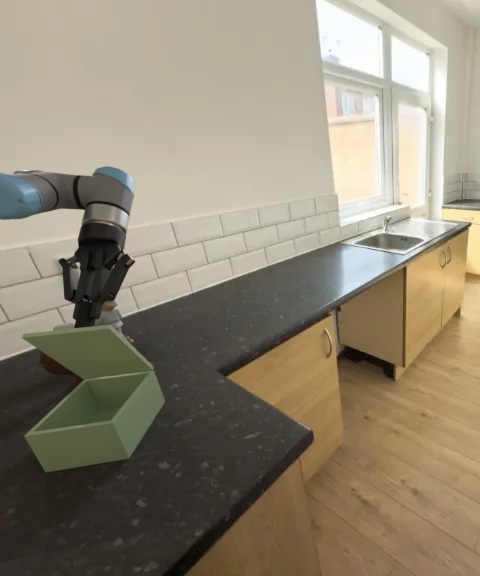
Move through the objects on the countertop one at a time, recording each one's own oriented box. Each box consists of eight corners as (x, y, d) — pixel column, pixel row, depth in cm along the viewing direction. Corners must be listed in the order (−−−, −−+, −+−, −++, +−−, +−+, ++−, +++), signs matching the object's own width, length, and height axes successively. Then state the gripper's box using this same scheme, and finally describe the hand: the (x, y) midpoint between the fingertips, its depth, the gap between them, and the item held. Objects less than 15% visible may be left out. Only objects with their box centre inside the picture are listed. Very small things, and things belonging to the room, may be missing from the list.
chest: (129, 458, 60) (113, 422, 56) (45, 472, 57) (23, 436, 54) (165, 401, 74) (154, 370, 71) (99, 410, 72) (84, 379, 68)
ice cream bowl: (117, 366, 87) (98, 318, 82) (101, 392, 78) (77, 339, 72) (69, 376, 84) (45, 326, 78) (45, 404, 74) (16, 349, 69)
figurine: (142, 344, 98) (120, 283, 91) (114, 359, 91) (88, 295, 83) (121, 340, 100) (98, 281, 93) (92, 355, 93) (64, 292, 86)
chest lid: (108, 328, 58) (110, 324, 58) (21, 337, 55) (23, 333, 56) (152, 370, 70) (154, 366, 71) (82, 379, 68) (84, 375, 68)
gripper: (147, 238, 74) (132, 336, 65) (83, 242, 71) (58, 344, 62) (127, 218, 67) (108, 326, 58) (55, 222, 65) (24, 334, 56)
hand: (82, 335), depth 60 cm, fingers closed
